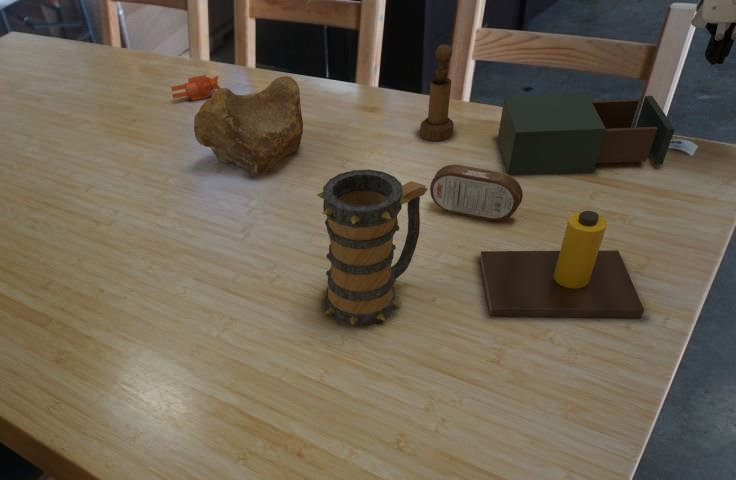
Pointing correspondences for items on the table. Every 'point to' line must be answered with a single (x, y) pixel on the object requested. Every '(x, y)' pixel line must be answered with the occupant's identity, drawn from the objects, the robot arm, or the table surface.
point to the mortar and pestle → (439, 101)
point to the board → (556, 286)
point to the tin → (476, 192)
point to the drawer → (633, 131)
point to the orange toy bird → (197, 87)
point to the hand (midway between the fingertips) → (713, 61)
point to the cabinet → (550, 134)
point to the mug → (366, 242)
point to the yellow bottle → (579, 249)
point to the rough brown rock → (252, 125)
